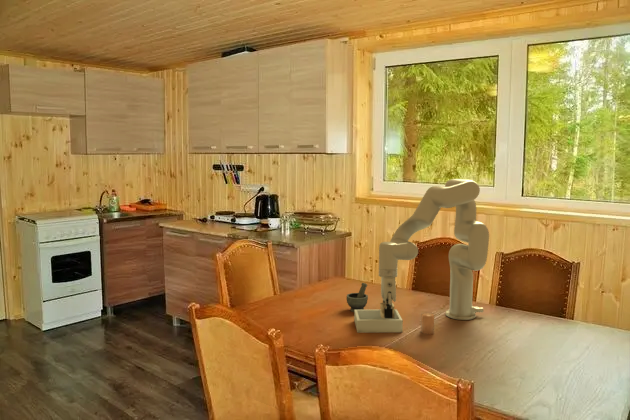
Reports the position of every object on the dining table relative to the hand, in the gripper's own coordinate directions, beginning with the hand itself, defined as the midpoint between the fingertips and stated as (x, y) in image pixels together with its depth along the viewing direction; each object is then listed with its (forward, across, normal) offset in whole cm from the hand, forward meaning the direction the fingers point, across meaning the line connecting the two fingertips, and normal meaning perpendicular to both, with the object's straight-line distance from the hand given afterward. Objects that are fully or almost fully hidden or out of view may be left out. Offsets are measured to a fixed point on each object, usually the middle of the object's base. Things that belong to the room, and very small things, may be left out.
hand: (387, 315), depth 212 cm
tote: (+5, 0, +4) cm, 6 cm away
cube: (+1, 0, 0) cm, 1 cm away
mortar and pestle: (+5, +22, +10) cm, 25 cm away
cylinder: (+5, -7, -15) cm, 17 cm away
